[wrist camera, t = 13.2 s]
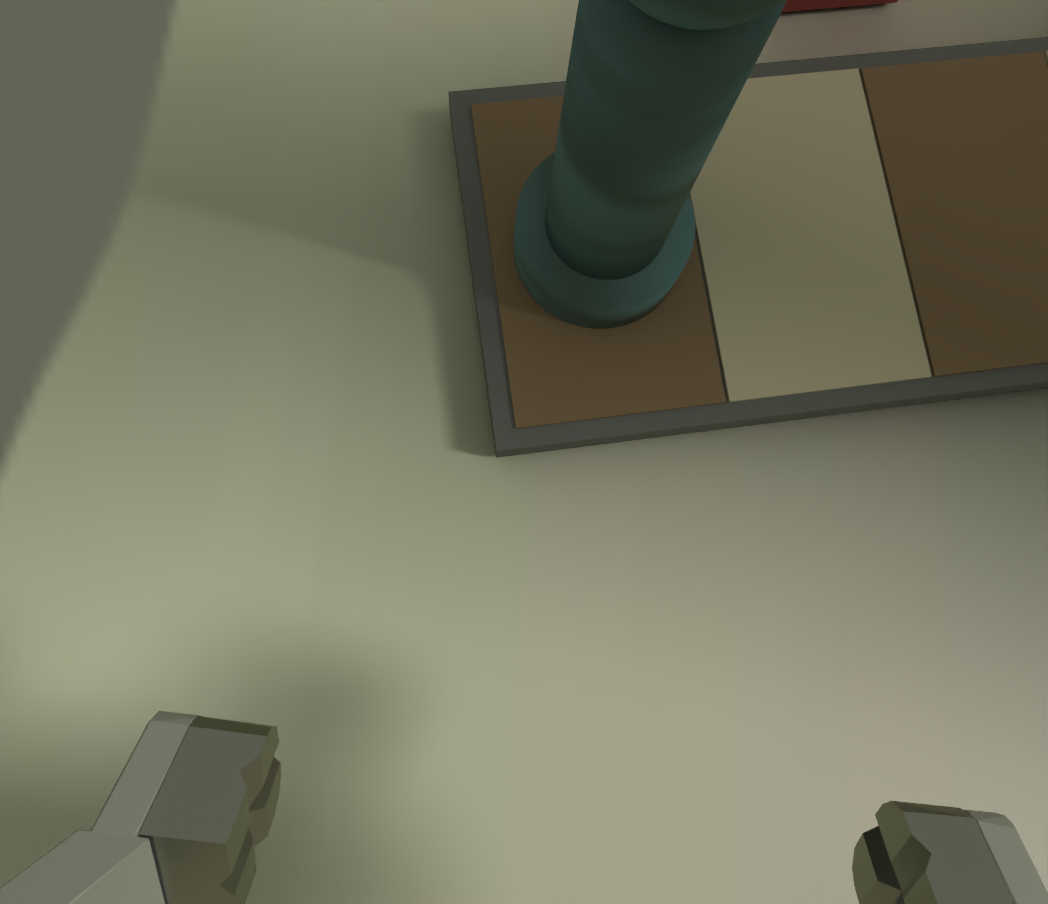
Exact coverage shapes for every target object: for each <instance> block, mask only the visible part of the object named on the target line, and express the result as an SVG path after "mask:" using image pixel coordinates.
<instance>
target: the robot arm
mask: <svg viewBox="0 0 1048 904" xmlns="http://www.w3.org/2000/svg"><path fill="white" fill-rule="evenodd" d="M278 743H279V739H278V731H277V726H269V725H262V724H254V723H247V722H239V721H232V720H224V719H217V718H209V717H202V716H198V715H190V714H182V713H173V712H165V711H159V712H158V713H157V714H156V715H155V716H154V717H153V718H152V719H151V720H150V721H149V722H148V724H147V726H146V728H145V730H144V731H143V733H142V735H141V737H140V739H139V741H138V743H137V745H136V746H135V748H134V750H133V752H132V754H131V756H130V758H129V760H128V761H127V763H126V765H125V767H124V769H123V771H122V773H121V775H120V776H119V778H118V780H117V782H116V784H115V786H114V788H113V790H112V792H111V793H110V795H109V797H108V799H107V801H106V803H105V805H104V807H103V808H102V810H101V812H100V814H99V816H98V818H97V820H96V822H95V823H94V825H93V827H92V829H91V831H90V830H77V831H76V832H75V833H73V834H72V835H71V836H69V837H68V838H67V839H65V840H64V841H63V842H61V843H60V844H59V845H57V846H56V847H55V848H53V849H52V850H51V851H49V852H48V853H47V854H45V855H44V856H43V857H41V858H40V859H39V860H37V861H36V862H35V863H33V864H32V865H31V866H29V867H28V868H27V869H25V870H24V871H23V872H21V873H20V874H19V875H17V876H16V877H15V878H13V879H12V880H11V881H9V882H8V883H7V884H5V885H4V886H3V887H1V888H0V904H245V901H246V898H247V896H248V893H249V890H250V887H251V884H252V881H253V878H254V875H255V872H256V863H255V853H254V847H255V846H256V845H257V844H259V843H260V842H261V841H262V840H263V839H264V838H265V837H267V836H268V833H269V830H270V827H271V823H272V820H273V817H274V814H275V810H276V805H277V800H278V796H279V791H280V781H281V764H280V762H279V761H278V760H277V759H276V758H275V757H274V754H275V752H276V749H277V746H278ZM875 816H876V819H877V822H878V825H879V826H877V827H875V828H873V829H871V830H869V831H867V832H865V833H863V834H862V835H861V837H860V839H859V841H858V842H857V844H856V846H855V848H854V856H853V865H852V871H853V879H854V886H855V890H856V894H857V897H858V901H859V904H1048V892H1047V890H1046V888H1045V886H1044V884H1043V882H1042V880H1041V878H1040V876H1039V874H1038V872H1037V870H1036V868H1035V866H1034V864H1033V862H1032V860H1031V858H1030V856H1029V854H1028V852H1027V850H1026V848H1025V846H1024V844H1023V842H1022V840H1021V838H1020V836H1019V834H1018V832H1017V830H1016V828H1015V826H1014V825H1013V823H1012V822H1011V821H1010V820H1009V819H1008V818H1007V817H1006V816H1005V815H1001V814H998V813H992V812H983V811H973V810H964V809H961V808H956V807H946V806H937V805H927V804H917V803H908V802H898V801H889V802H887V803H884V804H882V805H881V807H880V808H879V810H878V811H877V813H876V814H875Z"/></svg>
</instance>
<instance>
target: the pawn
mask: <svg viewBox="0 0 1048 904" xmlns="http://www.w3.org/2000/svg"><path fill="white" fill-rule="evenodd" d="M786 1H787V0H579V4H578V10H577V16H576V22H575V29H574V35H573V41H572V47H571V53H570V60H569V66H568V72H567V78H566V85H565V91H564V97H563V103H562V110H561V116H560V122H559V128H558V135H557V141H556V147H555V153H553V154H551V155H550V156H548V157H547V158H546V159H545V160H543V161H542V162H541V163H540V164H539V165H538V166H537V167H536V168H535V169H534V170H533V172H532V173H531V175H530V176H529V177H528V179H527V180H526V182H525V184H524V186H523V188H522V191H521V193H520V196H519V199H518V204H517V209H516V219H515V231H514V244H513V250H514V260H515V264H516V269H517V271H518V274H519V277H520V279H521V281H522V283H523V285H524V287H525V288H526V290H527V291H528V293H529V294H530V295H531V297H532V298H533V299H534V300H535V301H536V302H537V303H538V304H539V305H540V306H541V307H542V308H544V309H545V310H546V311H547V312H549V313H550V314H552V315H553V316H555V317H557V318H559V319H561V320H563V321H565V322H567V323H570V324H573V325H576V326H580V327H585V328H594V329H606V328H615V327H620V326H624V325H627V324H630V323H633V322H635V321H637V320H639V319H641V318H643V317H644V316H646V315H647V314H649V313H650V312H652V311H653V310H654V309H655V308H656V307H658V306H659V304H660V303H661V302H662V301H663V300H664V299H665V298H666V296H667V295H668V293H669V292H670V290H671V288H672V287H673V285H674V283H675V282H676V280H677V278H678V277H679V275H680V274H681V272H682V270H683V269H684V267H685V265H686V263H687V261H688V259H689V257H690V254H691V251H692V248H693V244H694V238H695V217H694V211H693V207H692V203H691V200H690V198H689V193H690V191H691V189H692V187H693V185H694V183H695V181H696V179H697V177H698V176H699V174H700V172H701V170H702V168H703V166H704V164H705V162H706V160H707V158H708V156H709V154H710V152H711V150H712V148H713V146H714V144H715V142H716V140H717V138H718V136H719V134H720V132H721V130H722V128H723V126H724V124H725V122H726V120H727V118H728V116H729V114H730V112H731V110H732V108H733V106H734V104H735V102H736V100H737V99H738V97H739V95H740V93H741V91H742V89H743V87H744V85H745V83H746V81H747V79H748V77H749V75H750V73H751V71H752V69H753V67H754V65H755V63H756V61H757V59H758V57H759V55H760V53H761V51H762V49H763V47H764V45H765V43H766V41H767V39H768V37H769V35H770V33H771V31H772V29H773V27H774V25H775V23H776V22H777V20H778V18H779V16H780V14H781V12H782V10H783V8H784V6H785V4H786Z"/></svg>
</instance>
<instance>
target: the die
mask: <svg viewBox="0 0 1048 904" xmlns="http://www.w3.org/2000/svg"><path fill="white" fill-rule="evenodd" d="M897 1H898V0H787V1H786V4H785V6H784V8H783V10H782V12H790V11H802V10H814V9H825V8H837V7H848V6H860V5H871V4H883V3H895V2H897Z"/></svg>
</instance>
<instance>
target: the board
mask: <svg viewBox="0 0 1048 904" xmlns="http://www.w3.org/2000/svg"><path fill="white" fill-rule="evenodd" d="M565 85H566V81H562V82H551V83H541V84H530V85H519V86H508V87H497V88H486V89H475V90H464V91H453V92H449V107H450V117H451V124H452V132H453V139H454V147H455V154H456V162H457V169H458V177H459V184H460V192H461V199H462V207H463V214H464V222H465V229H466V236H467V244H468V251H469V259H470V266H471V274H472V281H473V289H474V296H475V304H476V311H477V319H478V326H479V334H480V341H481V349H482V356H483V363H484V371H485V378H486V386H487V393H488V401H489V408H490V416H491V423H492V431H493V438H494V446H495V453H496V457H504V456H512V455H520V454H528V453H536V452H544V451H552V450H559V449H567V448H575V447H583V446H591V445H599V444H607V443H615V442H623V441H630V440H638V439H646V438H654V437H662V436H670V435H678V434H686V433H694V432H701V431H709V430H717V429H725V428H733V427H741V426H749V425H757V424H764V423H772V422H780V421H788V420H796V419H804V418H812V417H820V416H828V415H835V414H843V413H851V412H859V411H867V410H875V409H883V408H891V407H899V406H906V405H914V404H922V403H930V402H938V401H946V400H954V399H962V398H970V397H977V396H985V395H993V394H1001V393H1009V392H1017V391H1025V390H1033V389H1040V388H1048V37H1044V38H1033V39H1022V40H1011V41H1000V42H989V43H978V44H968V45H957V46H946V47H935V48H924V49H913V50H902V51H891V52H880V53H869V54H858V55H847V56H836V57H825V58H814V59H803V60H792V61H781V62H770V63H759V64H755V65H754V67H753V69H752V71H751V73H750V75H749V77H748V79H747V81H746V83H745V85H744V87H743V89H742V91H741V93H740V95H739V97H738V99H737V100H736V102H735V104H734V106H733V108H732V110H731V112H730V114H729V116H728V118H727V120H726V122H725V124H724V126H723V128H722V130H721V132H720V134H719V136H718V138H717V140H716V142H715V144H714V146H713V148H712V150H711V152H710V154H709V156H708V158H707V160H706V162H705V164H704V166H703V168H702V170H701V172H700V174H699V176H698V177H697V179H696V181H695V183H694V185H693V187H692V189H691V191H690V193H689V198H690V200H691V203H692V207H693V211H694V217H695V238H694V244H693V248H692V251H691V254H690V257H689V259H688V261H687V263H686V265H685V267H684V269H683V270H682V272H681V274H680V275H679V277H678V278H677V280H676V282H675V283H674V285H673V287H672V288H671V290H670V292H669V293H668V295H667V296H666V298H665V299H664V300H663V301H662V302H661V303H660V304H659V306H658V307H656V308H655V309H654V310H653V311H652V312H650V313H649V314H647V315H646V316H644V317H643V318H641V319H639V320H637V321H635V322H633V323H630V324H627V325H624V326H620V327H615V328H606V329H594V328H585V327H580V326H576V325H573V324H570V323H567V322H565V321H563V320H561V319H559V318H557V317H555V316H553V315H552V314H550V313H549V312H547V311H546V310H545V309H544V308H542V307H541V306H540V305H539V304H538V303H537V302H536V301H535V300H534V299H533V298H532V297H531V295H530V294H529V293H528V291H527V290H526V288H525V287H524V285H523V283H522V281H521V279H520V277H519V274H518V271H517V269H516V264H515V260H514V250H513V244H514V231H515V219H516V209H517V204H518V199H519V196H520V193H521V191H522V188H523V186H524V184H525V182H526V180H527V179H528V177H529V176H530V175H531V173H532V172H533V170H534V169H535V168H536V167H537V166H538V165H539V164H540V163H541V162H542V161H543V160H545V159H546V158H547V157H548V156H550V155H551V154H553V153H555V147H556V141H557V135H558V128H559V122H560V116H561V110H562V103H563V97H564V91H565Z"/></svg>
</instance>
